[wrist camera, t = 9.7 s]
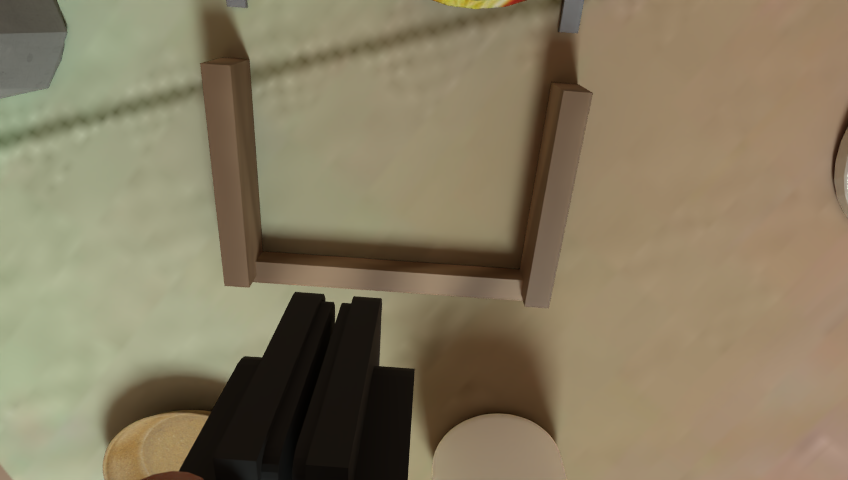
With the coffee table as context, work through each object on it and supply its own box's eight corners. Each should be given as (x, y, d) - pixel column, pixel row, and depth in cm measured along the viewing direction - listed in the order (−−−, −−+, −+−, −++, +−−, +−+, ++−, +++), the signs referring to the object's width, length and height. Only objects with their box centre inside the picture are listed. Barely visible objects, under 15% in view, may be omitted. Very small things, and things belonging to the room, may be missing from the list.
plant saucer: (100, 387, 39) (79, 412, 37) (292, 391, 39) (284, 416, 37) (142, 517, 45) (126, 545, 43) (308, 521, 45) (301, 549, 43)
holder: (577, 84, 29) (592, 92, 26) (538, 290, 35) (547, 315, 32) (222, 57, 29) (200, 63, 26) (241, 269, 34) (225, 292, 32)
